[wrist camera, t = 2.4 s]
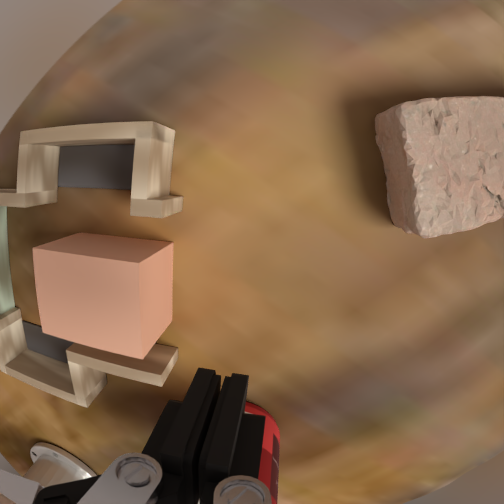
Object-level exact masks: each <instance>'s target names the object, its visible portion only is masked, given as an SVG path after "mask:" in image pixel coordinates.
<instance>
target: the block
mask: <svg viewBox="0 0 504 504" xmlns="http://www.w3.org/2000/svg"><path fill="white" fill-rule="evenodd" d="M33 263H34V274H35V283H36V292H37V300H38V307H39V314H40V320H41V326H42V331H43V333H46V334H49V335H52V336H55V337H58V338H62V339H65V340H68V341H72V342H75V343H79V344H82V345H86V346H90V347H93V348H97V349H101V350H105V351H109V352H113V353H117V354H121V355H125V356H129V357H134V358H138V359H144V357H145V356H146V355H147V353H148V352H149V351H150V349H151V348H152V347H153V345H154V344H155V343H156V341H157V340H158V339H159V337H160V336H161V335H162V333H163V332H164V331H165V329H166V328H167V327H168V325H169V324H170V323H171V321H172V275H173V242H167V241H157V240H148V239H138V238H129V237H119V236H110V235H101V234H91V233H82V232H80V233H77V234H74V235H70V236H67V237H64V238H61V239H58V240H55V241H52V242H49V243H46V244H43V245H40V246H37V247H34V248H33Z"/></svg>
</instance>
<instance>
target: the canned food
mask: <svg viewBox="0 0 504 504" xmlns="http://www.w3.org/2000/svg"><path fill="white" fill-rule="evenodd" d="M245 413H249V414H256V415H264V416H266V419H265V428H264V437H263V445H262V453H261V461H260V469H259V477H258V480H260V481H261V482H263V483H264V484H265V485H266V486H267V487H268V489H269V491H270V494H271V500H272V504H277V496H278V473H279V446H280V432H279V429H278V426H277V424H276V422H275V420H274V419H273V417H272V416H271V415H270V414H269V413H268V412H267V411H266V410H264V409H263V408H261V407H259V406H257V405H255V404H252V403H249V402H246V405H245ZM198 504H200V498H199V501H198Z"/></svg>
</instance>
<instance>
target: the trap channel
mask: <svg viewBox="0 0 504 504" xmlns="http://www.w3.org/2000/svg"><path fill="white" fill-rule="evenodd" d="M174 136H175V130H173V129H170V128H168V127H165V126H163V125H161V124H158V123H156V122H153V121H142V122H113V123H96V124H82V125H70V126H60V127H51V128H42V129H34V130H27V131H21V133H20V142H19V154H18V169H17V189H0V369H1V371H2V372H4V373H6V374H8V375H10V376H12V377H14V378H16V379H18V380H21V381H23V382H25V383H27V384H29V385H31V386H34V387H36V388H38V389H40V390H43V391H45V392H47V393H50V394H52V395H55V396H57V397H60V398H62V399H65V400H67V401H70V402H73V403H75V404H78V405H81V406H84V407H86V408H88V406H89V405H90V404H91V403H92V401H93V400H94V399H95V398H96V396H97V395H98V394H99V393H100V392H101V390H102V389H103V388H104V387H105V385H106V384H107V378H106V373H109V374H113V375H116V376H120V377H124V378H128V379H132V380H136V381H140V382H144V383H148V384H152V385H157V386H161V387H162V386H163V384H164V382H165V380H166V379H167V377H168V375H169V373H170V372H171V370H172V368H173V366H174V365H175V363H176V361H177V359H178V348H176V347H171V346H166V345H161V344H154V345H153V347H152V348H151V349H150V351H149V352H148V353H147V355H146V356H145V357H144V359H138V358H134V357H129V356H125V355H121V354H117V353H113V352H109V351H105V350H101V349H97V348H93V347H90V346H86V345H82V344H79V343H75V342H72V341H68V340H65V339H62V338H58V337H55V336H52V335H49V334H46V333H43V331H42V326H38V325H35V324H32V323H29V322H26V321H24V320H23V321H22V317H21V311H20V308H17V307H15V303H14V297H13V289H12V282H11V273H10V263H9V252H8V236H7V206H9V207H31V206H36V205H42V204H48V203H55V202H57V189H58V187H81V188H107V189H127V190H131V208H130V215H131V216H142V217H153V218H164V217H166V216H169V215H172V214H175V213H178V212H181V211H182V206H183V197H182V196H169V194H170V180H171V168H172V156H173V146H174ZM110 144H135V145H110ZM79 145H89V146H79ZM60 146H67V147H60ZM59 154H60V158H59ZM58 168H59V174H58Z"/></svg>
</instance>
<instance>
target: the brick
mask: <svg viewBox="0 0 504 504" xmlns="http://www.w3.org/2000/svg"><path fill="white" fill-rule="evenodd" d="M375 131H376V134H377V135H376V143H377V145H378V147H379V149H380V152H381V155H382V159H383V163H384V172H385V174H386V178H387V181H386V186H387V191H388V192H387V203H388V207H389V210H390V216H391V220H392V221H393V223H394V225H395V226H396V227H399V228H402V229H403V230H404V231H405V232H406V233H414V234H417V235H420V236H421V237H422V238H431V237H436V236H439V235H443V234H452V233H455V232H461V231H466V230H471V229H474V228H477V227H479V226H481V225H483V224H485V223H490V222H495V221H497V220H498V219H500V218H504V97H494V96H455V97H443V98H424V99H419V100H415V101H407V102H404V103H401V104H398V105H396V106H393V107H391V108H389V109H388V110H386V111H384V112H382V113H379V114H377V115H376V117H375Z"/></svg>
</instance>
